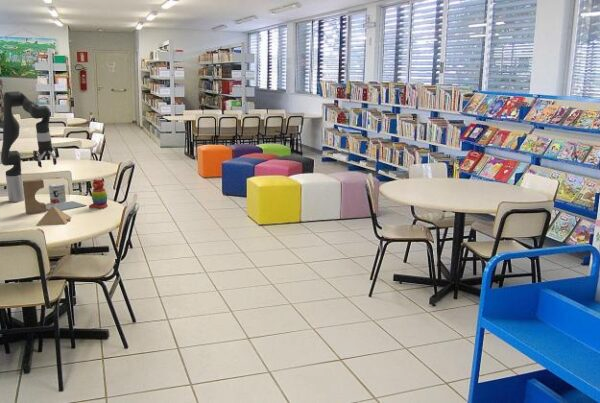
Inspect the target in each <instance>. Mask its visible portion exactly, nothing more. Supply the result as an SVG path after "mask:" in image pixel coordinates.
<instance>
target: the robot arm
mask: <svg viewBox="0 0 600 403" xmlns="http://www.w3.org/2000/svg"><path fill="white" fill-rule="evenodd" d="M2 101H3V124H2V125H3V126H2V146H1V153H0V162H1V164H2V165H3V166H8V167H9V166H12V167H11V168H10V169H7V170H6V171H5V180H6V190H7V197H8V202H10V203H18V202H23V201H25V200H24V191H23V179H22V178H23V176H22V162H21V155H20V154H21V153H20V152H19V151H18V150H11V147H12V145H13V144H14V143H15V142H16V141H17V140H18V138H19V136H20V126H21V125H20V123H19V122H18V120H17V119H16V117H15V116H14V114H13V110H12V108H17V107H22V109H23V110H24V112H26V113H29V114H30V116H31V117H32V118H33V119H37V120H38V119H41V121H38V122H37V123H36V124H35V130H36V140H37V147H38V149H37V150H32V155H33V161H36V162H37V166H38V167H39V168H42V167H43V166H42V159H43V158H44V157H52V162H53V165H54V166H56V165H57V163H58V162H57V159H58V158H60V153H59V148H58V147H56V146H55V147H53V145H52V137H51V132H50V118H51V110H50V108H49V107H48V105H39V104H38V103H36V102H34V101H33V100H30V99H29V98H28V97H27V96H26V95H25V94H24V93H23V92H21V91H18V90H17V91H6V92H4V94H3V100H2ZM53 152H54V153H53ZM38 153H39V155H38ZM54 154H55V155H54Z"/></svg>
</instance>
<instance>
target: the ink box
mask: <svg viewBox="0 0 600 403" xmlns="http://www.w3.org/2000/svg"><path fill="white" fill-rule="evenodd" d="M48 189H49V200H50V204H52V205H54V204H59V203H65V202H67V199H66V198H67V197H66V186H65V184H63V183H56V184H55V183H53V184H49V185H48Z"/></svg>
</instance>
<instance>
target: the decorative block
mask: <svg viewBox="0 0 600 403" xmlns="http://www.w3.org/2000/svg"><path fill="white" fill-rule="evenodd" d="M22 185H23V194H24V200H23V201H24V206H25V213H26V214H27V215H30V214H38V213H39V214H40V212H41V213H47V210H46V206H47V205H46V203H45V202H40V201H38V200H37V199H36V194H37V192H38V191H39V190H42V189H44V188H45V184H44V179H42V178H36V179H25V180H23V179H22Z"/></svg>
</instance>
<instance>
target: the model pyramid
mask: <svg viewBox="0 0 600 403" xmlns="http://www.w3.org/2000/svg"><path fill="white" fill-rule="evenodd" d="M71 219H72V216H71V215H69V214H67V213H65V212H64V211H61V210H59V209H57V208H56V207H54V206H52V207H51V208H50V209H49V210H47V211H46V212H45V214H44V215H43V216H42V218H41V219H40V220H39V221H38V222H37V223H36V225H35V226H37V227H39V226H59V225H64V226H65V225H67V224H68V223H69V222H71Z"/></svg>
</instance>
